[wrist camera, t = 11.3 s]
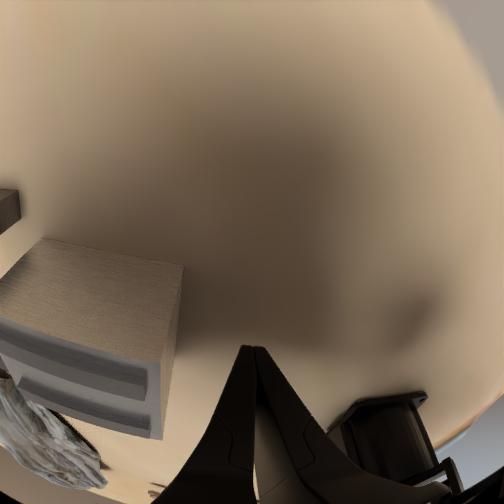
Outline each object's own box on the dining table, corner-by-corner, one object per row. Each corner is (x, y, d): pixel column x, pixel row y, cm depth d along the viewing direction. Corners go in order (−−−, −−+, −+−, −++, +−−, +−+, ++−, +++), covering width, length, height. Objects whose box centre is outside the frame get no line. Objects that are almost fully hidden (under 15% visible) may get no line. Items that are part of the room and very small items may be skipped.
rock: (38, 334, 16) (-56, 327, 14) (-1, 397, 10) (-89, 365, 7) (130, 479, 24) (37, 462, 22) (127, 524, 17) (28, 499, 15)
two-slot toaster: (184, 263, 10) (158, 373, 6) (175, 354, 12) (161, 447, 8) (43, 236, 9) (-28, 311, 5) (60, 326, 11) (22, 403, 7)
